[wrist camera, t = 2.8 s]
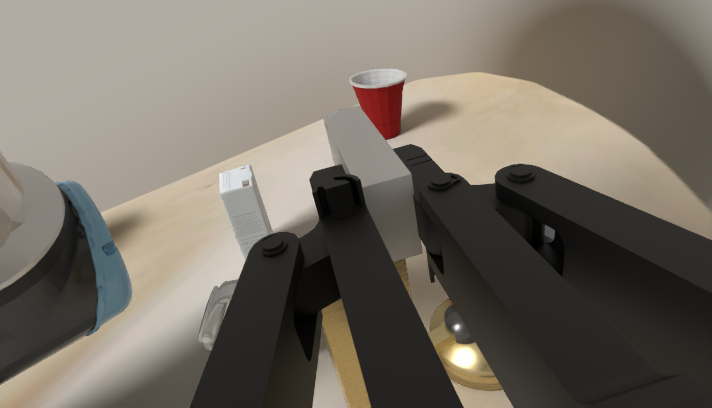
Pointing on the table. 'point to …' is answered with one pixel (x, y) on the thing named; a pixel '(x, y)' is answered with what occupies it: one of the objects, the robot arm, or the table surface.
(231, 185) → the skincare box
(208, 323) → the watch
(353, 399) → the brass panel with base
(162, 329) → the table surface
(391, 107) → the plastic cup
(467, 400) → the table surface
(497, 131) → the table surface
